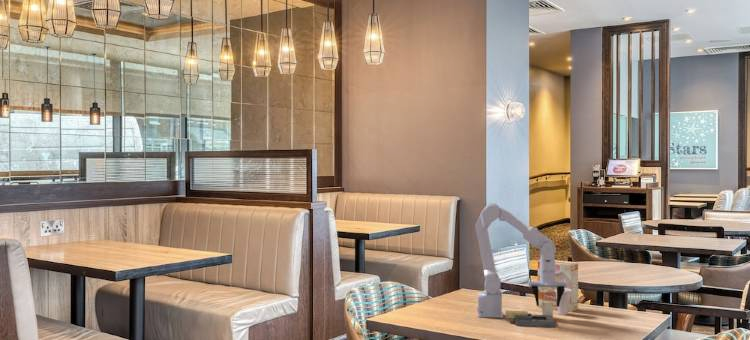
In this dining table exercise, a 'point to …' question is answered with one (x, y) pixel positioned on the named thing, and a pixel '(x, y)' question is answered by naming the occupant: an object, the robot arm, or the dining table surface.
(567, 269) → the coffeecake box
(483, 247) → the robot arm
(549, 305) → the white capsule cylinder
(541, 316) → the jig
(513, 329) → the dining table surface
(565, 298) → the smoothie
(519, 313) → the shunt bar
